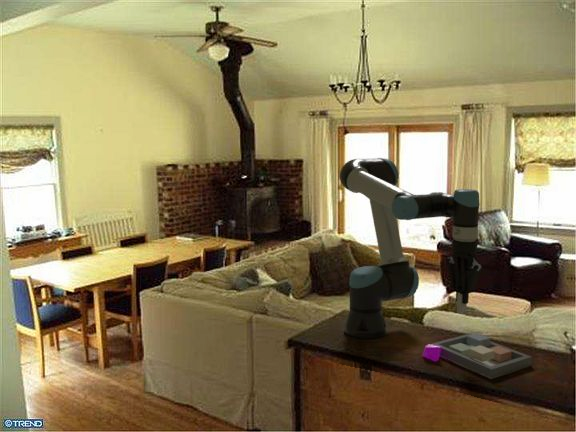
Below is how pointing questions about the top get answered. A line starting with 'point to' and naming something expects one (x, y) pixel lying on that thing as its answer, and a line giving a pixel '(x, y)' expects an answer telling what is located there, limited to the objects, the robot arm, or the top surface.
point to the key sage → (460, 348)
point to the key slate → (478, 340)
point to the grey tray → (485, 368)
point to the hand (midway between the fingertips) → (461, 312)
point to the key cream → (481, 353)
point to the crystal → (432, 352)
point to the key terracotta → (501, 354)
